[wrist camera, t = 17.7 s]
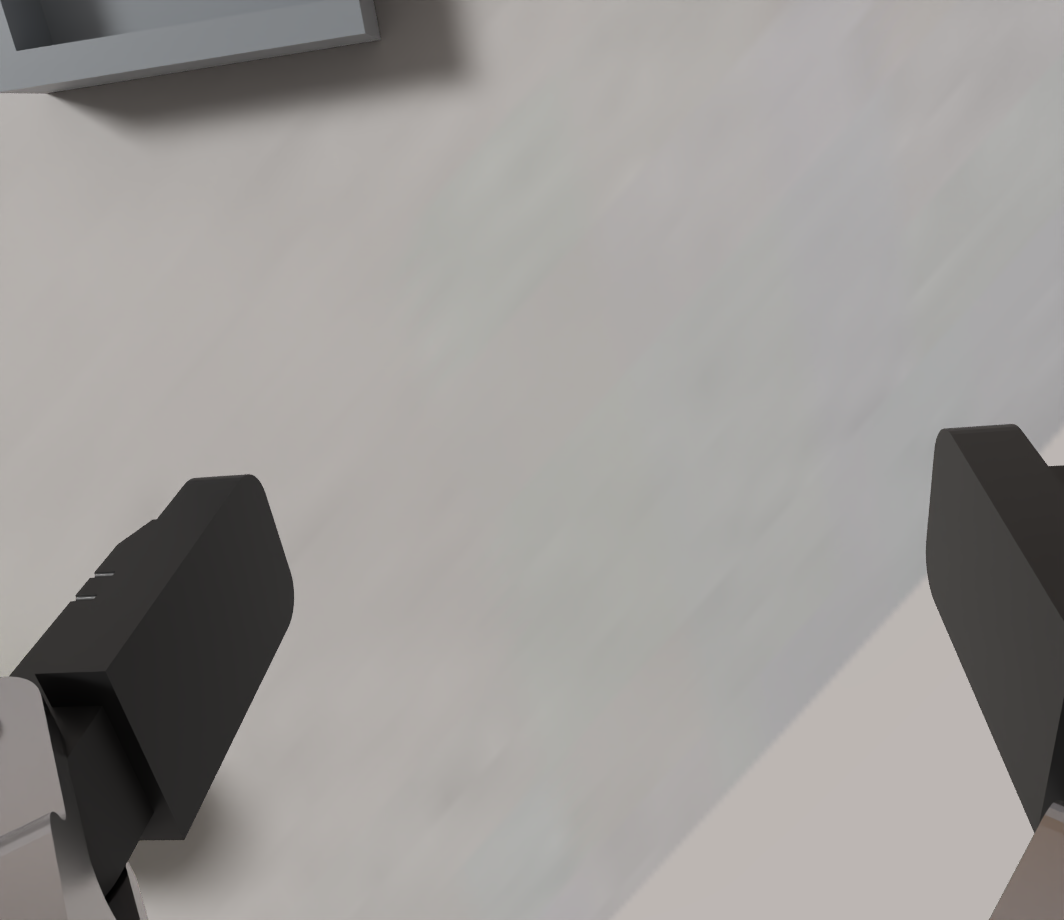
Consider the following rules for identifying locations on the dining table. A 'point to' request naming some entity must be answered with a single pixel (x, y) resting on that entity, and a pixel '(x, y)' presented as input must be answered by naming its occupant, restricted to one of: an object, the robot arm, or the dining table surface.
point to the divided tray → (162, 37)
